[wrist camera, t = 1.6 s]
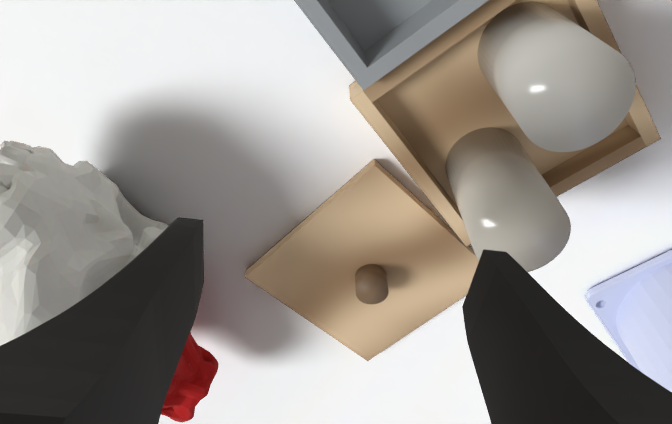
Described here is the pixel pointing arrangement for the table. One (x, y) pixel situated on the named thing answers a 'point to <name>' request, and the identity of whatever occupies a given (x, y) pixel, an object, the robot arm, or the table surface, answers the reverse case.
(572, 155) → the oak box
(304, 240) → the oak lid
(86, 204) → the white and red lump
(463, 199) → the grey capsule cylinder
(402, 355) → the table surface
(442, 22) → the slate dish
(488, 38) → the pale grey capsule
